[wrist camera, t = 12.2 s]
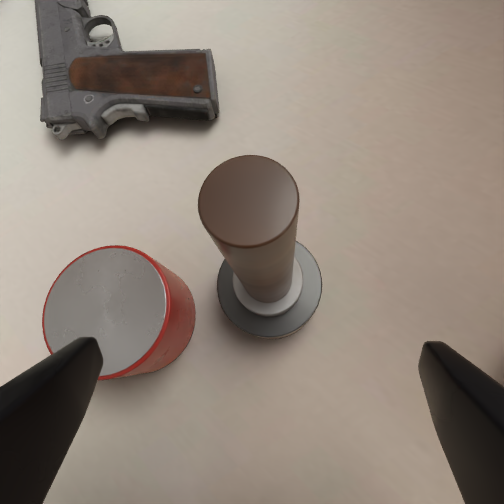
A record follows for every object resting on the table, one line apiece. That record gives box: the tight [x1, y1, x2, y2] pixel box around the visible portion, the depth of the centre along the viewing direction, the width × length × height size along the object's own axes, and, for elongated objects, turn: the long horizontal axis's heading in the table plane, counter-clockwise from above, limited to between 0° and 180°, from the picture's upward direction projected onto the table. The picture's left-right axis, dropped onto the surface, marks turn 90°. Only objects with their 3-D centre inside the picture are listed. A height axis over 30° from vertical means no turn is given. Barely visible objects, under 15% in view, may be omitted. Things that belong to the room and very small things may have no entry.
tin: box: [42, 245, 195, 380], centre depth 20 cm, size 7×7×5 cm
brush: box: [198, 155, 322, 339], centre depth 15 cm, size 6×6×14 cm
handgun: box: [35, 0, 219, 140], centre depth 28 cm, size 3×22×14 cm
